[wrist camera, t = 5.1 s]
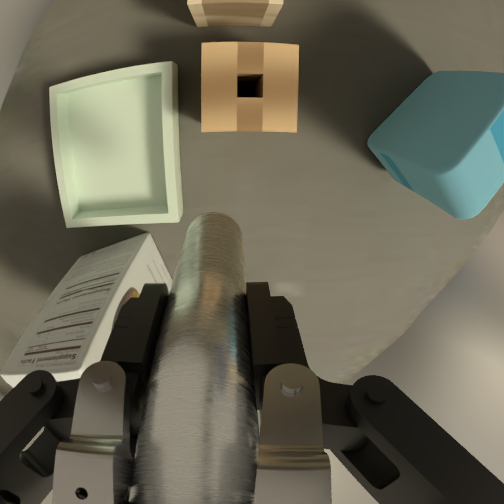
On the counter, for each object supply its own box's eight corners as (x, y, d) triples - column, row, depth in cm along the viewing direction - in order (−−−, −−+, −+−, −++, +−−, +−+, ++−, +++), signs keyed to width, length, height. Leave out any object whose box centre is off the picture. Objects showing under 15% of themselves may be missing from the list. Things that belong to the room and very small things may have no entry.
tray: (64, 87, 19) (49, 87, 16) (178, 65, 19) (172, 61, 17) (78, 217, 25) (66, 227, 23) (183, 211, 26) (178, 222, 23)
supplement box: (187, 305, 31) (167, 451, 16) (118, 322, 31) (76, 446, 17) (149, 228, 26) (77, 370, 11) (77, 254, 27) (-5, 374, 12)
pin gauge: (184, 213, 14) (100, 572, 2) (242, 211, 14) (283, 590, 2) (188, 263, 15) (148, 570, 3) (242, 262, 15) (269, 577, 3)
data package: (387, 177, 25) (468, 228, 15) (360, 143, 24) (443, 178, 13) (454, 105, 22) (542, 124, 11) (432, 70, 20) (524, 74, 9)
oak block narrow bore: (208, 57, 19) (201, 42, 14) (282, 58, 20) (298, 44, 15) (208, 126, 22) (201, 132, 17) (281, 126, 23) (296, 132, 17)
